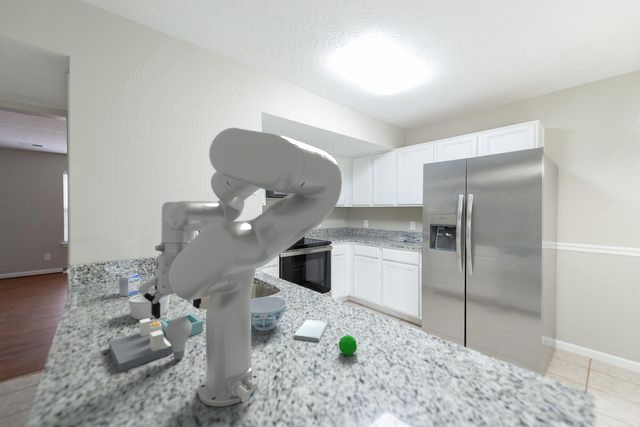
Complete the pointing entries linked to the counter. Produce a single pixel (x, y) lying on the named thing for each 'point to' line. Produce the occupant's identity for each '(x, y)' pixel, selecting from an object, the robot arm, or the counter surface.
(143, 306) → the ramekin
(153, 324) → the block
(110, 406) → the counter surface
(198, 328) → the socket
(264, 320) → the chinaware
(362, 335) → the counter surface
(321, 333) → the hard drive
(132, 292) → the medicine box
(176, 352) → the lightbulb
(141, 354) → the breaker panel
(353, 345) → the polyhedron
